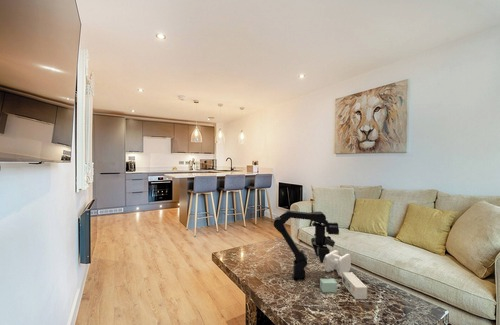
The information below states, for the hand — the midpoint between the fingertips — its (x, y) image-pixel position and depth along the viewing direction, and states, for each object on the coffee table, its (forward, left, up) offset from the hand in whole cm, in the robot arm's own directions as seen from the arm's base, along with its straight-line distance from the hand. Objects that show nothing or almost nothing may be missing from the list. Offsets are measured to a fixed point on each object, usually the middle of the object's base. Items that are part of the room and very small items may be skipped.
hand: (319, 259), depth 137 cm
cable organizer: (+15, +9, -12) cm, 22 cm away
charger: (+2, -12, -12) cm, 17 cm away
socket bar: (+15, -12, -12) cm, 23 cm away
